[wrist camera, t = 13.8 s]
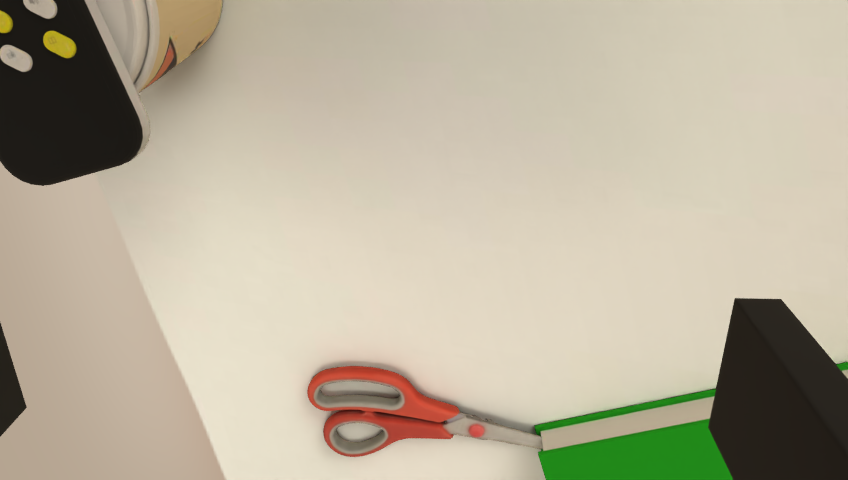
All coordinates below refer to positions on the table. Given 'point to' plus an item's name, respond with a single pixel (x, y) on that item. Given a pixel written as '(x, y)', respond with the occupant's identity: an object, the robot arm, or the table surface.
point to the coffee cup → (158, 33)
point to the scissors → (399, 414)
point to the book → (637, 442)
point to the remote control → (64, 93)
